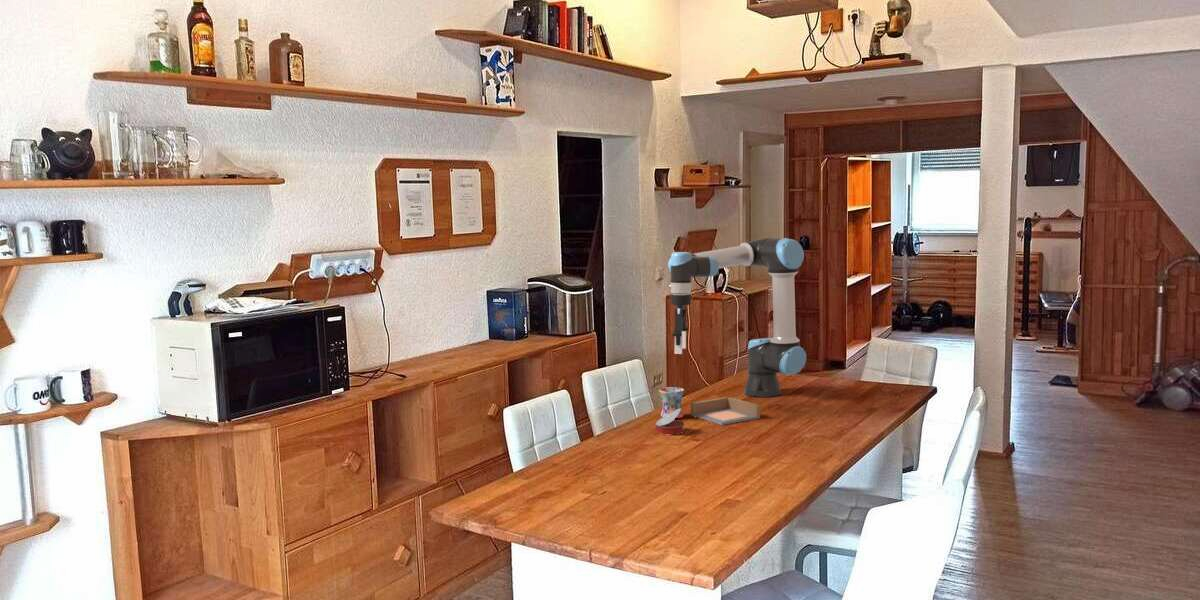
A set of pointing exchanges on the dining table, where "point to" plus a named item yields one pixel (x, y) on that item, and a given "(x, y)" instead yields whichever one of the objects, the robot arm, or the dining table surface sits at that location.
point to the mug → (671, 400)
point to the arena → (725, 410)
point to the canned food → (670, 424)
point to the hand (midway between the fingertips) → (680, 351)
